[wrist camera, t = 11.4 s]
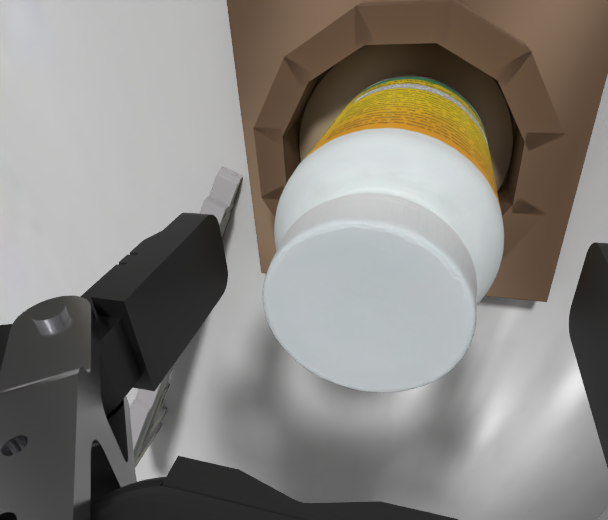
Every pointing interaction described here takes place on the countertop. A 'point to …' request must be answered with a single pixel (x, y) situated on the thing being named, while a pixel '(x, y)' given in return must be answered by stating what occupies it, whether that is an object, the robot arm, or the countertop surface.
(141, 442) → the caliper
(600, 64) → the bottle holder
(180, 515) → the robot arm
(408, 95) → the supplement bottle
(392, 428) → the countertop surface
